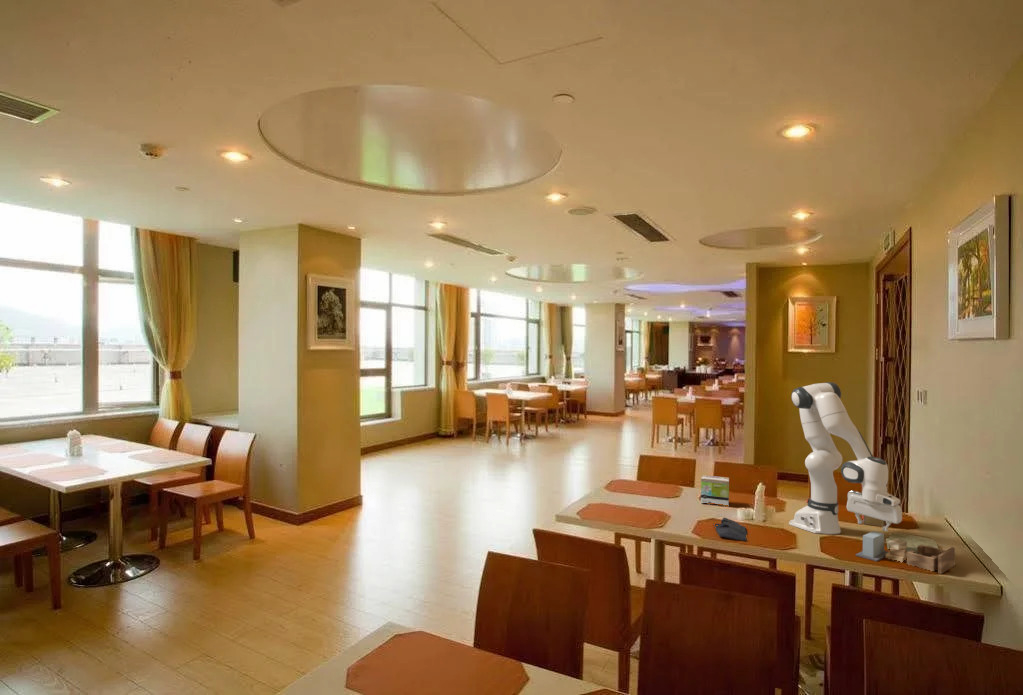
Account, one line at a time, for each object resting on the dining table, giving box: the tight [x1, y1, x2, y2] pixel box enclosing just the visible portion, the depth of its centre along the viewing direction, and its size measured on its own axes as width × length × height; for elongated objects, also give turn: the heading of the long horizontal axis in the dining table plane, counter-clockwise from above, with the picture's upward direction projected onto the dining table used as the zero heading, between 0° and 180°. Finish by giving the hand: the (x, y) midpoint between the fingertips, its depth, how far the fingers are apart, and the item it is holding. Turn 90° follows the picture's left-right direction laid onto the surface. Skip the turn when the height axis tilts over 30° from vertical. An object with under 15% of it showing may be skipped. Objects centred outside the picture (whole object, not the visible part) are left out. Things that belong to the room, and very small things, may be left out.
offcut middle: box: [889, 547, 907, 557], centre depth 231 cm, size 5×8×2 cm, turn 139°
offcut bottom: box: [885, 550, 907, 563], centre depth 231 cm, size 6×10×2 cm, turn 130°
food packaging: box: [861, 484, 886, 528], centre depth 279 cm, size 13×9×25 cm
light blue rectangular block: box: [862, 530, 885, 557], centre depth 234 cm, size 4×11×8 cm, turn 126°
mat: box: [855, 550, 889, 562], centre depth 234 cm, size 8×15×1 cm, turn 126°
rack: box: [906, 544, 956, 575], centre depth 223 cm, size 12×16×7 cm
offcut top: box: [887, 539, 907, 550], centre depth 231 cm, size 4×6×2 cm, turn 116°
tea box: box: [700, 474, 730, 506], centre depth 312 cm, size 15×10×15 cm, turn 68°
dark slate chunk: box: [714, 517, 748, 542], centre depth 262 cm, size 15×22×5 cm
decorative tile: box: [885, 532, 939, 554], centre depth 243 cm, size 19×20×4 cm
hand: (872, 527), depth 235 cm, fingers open, 8 cm apart
